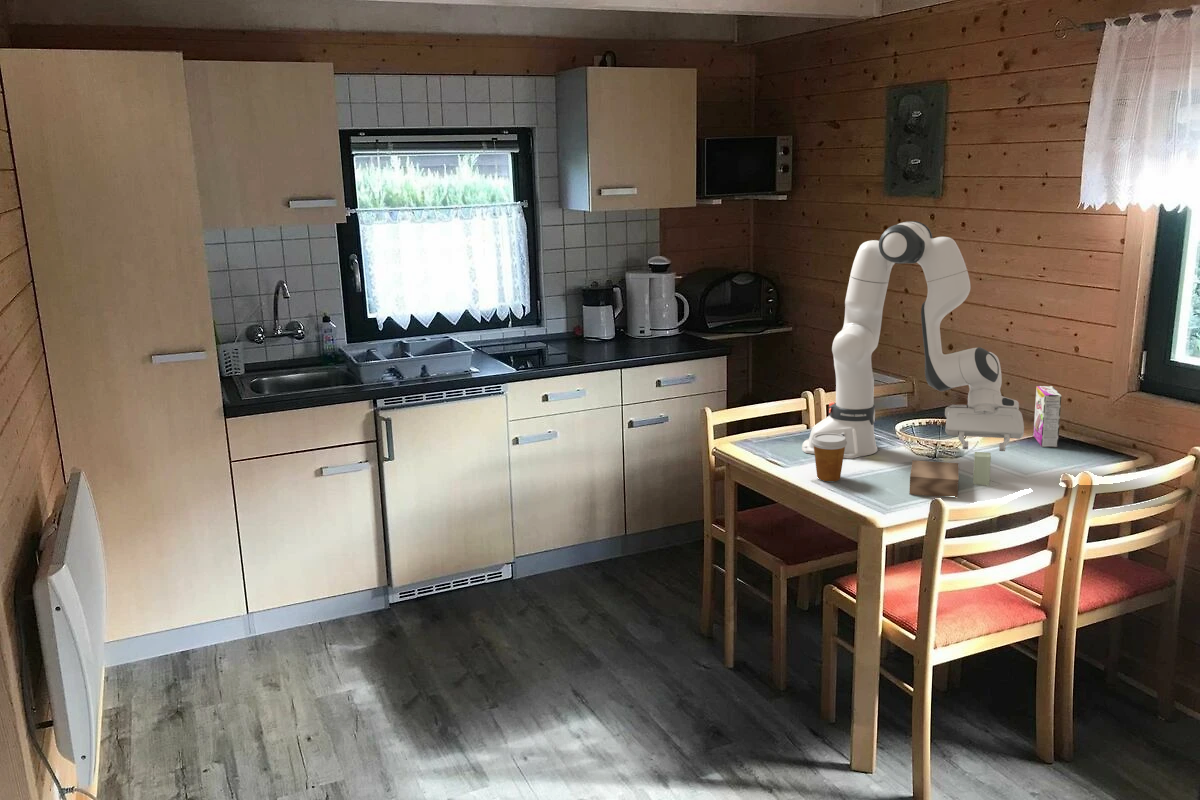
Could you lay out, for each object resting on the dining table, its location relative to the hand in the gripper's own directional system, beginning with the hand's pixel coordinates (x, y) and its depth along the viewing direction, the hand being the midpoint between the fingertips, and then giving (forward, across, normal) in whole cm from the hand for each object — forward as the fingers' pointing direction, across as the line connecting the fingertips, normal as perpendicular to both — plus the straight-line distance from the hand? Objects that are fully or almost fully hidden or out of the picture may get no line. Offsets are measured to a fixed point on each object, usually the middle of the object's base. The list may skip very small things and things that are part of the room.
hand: (983, 449), depth 260 cm
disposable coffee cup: (+12, -40, -1) cm, 42 cm away
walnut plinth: (+13, -12, -2) cm, 18 cm away
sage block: (+8, 0, +3) cm, 9 cm away
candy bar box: (-21, +19, +33) cm, 44 cm away
